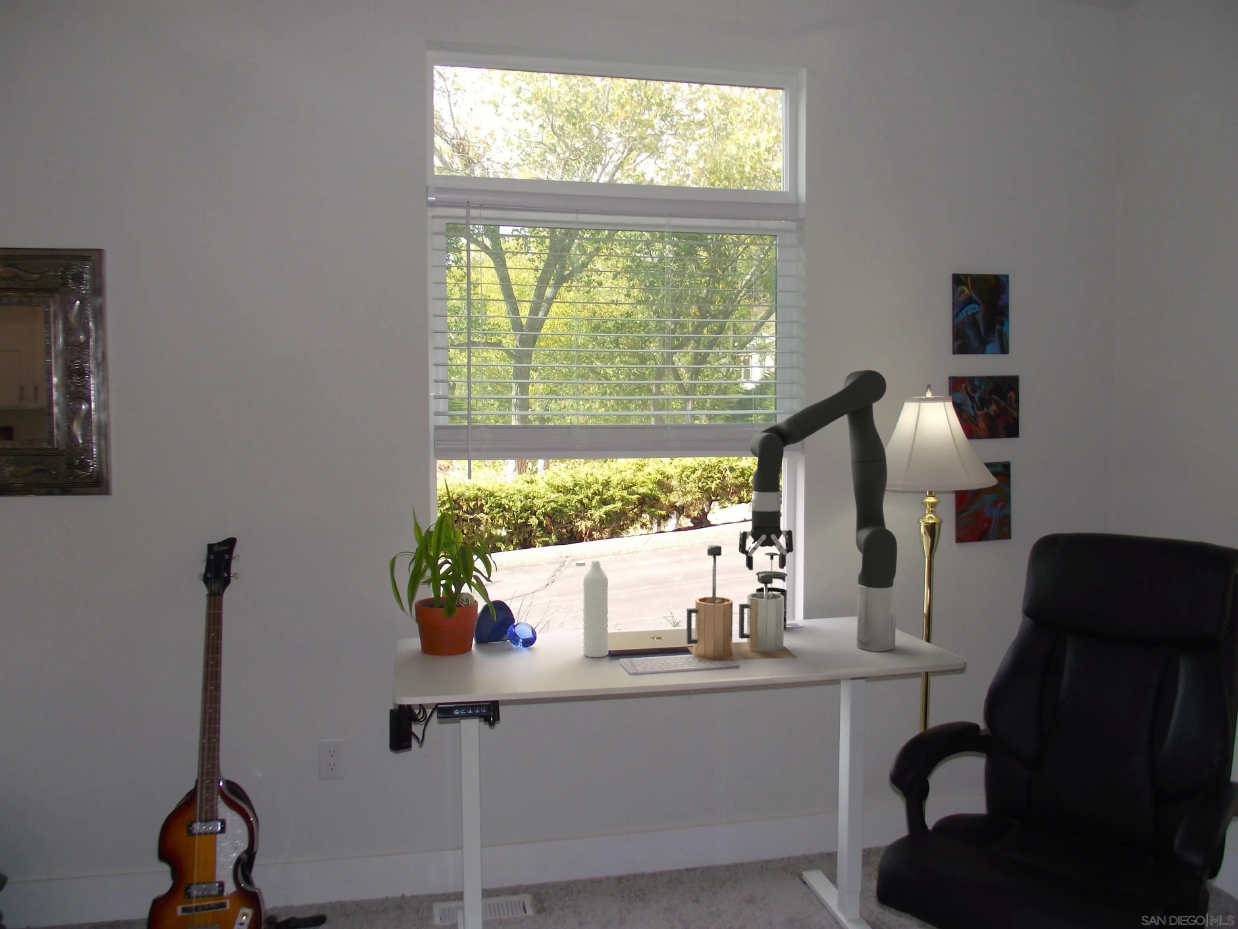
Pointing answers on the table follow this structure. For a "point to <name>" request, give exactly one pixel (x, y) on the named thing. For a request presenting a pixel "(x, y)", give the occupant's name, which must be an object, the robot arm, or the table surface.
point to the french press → (772, 589)
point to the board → (745, 653)
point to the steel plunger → (765, 582)
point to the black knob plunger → (714, 568)
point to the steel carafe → (763, 622)
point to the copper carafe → (711, 627)
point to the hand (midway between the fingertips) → (765, 569)
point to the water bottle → (595, 611)
